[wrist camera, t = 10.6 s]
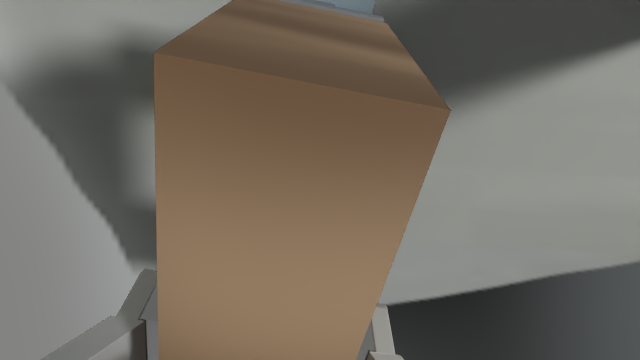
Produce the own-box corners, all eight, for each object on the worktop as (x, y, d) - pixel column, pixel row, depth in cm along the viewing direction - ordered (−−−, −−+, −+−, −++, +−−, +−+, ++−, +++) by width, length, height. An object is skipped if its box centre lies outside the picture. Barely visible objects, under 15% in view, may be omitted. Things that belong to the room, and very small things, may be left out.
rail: (243, -8, 10) (153, 52, 5) (387, 23, 10) (450, 110, 5) (210, 368, 17) (161, 549, 12) (292, 379, 18) (279, 560, 13)
